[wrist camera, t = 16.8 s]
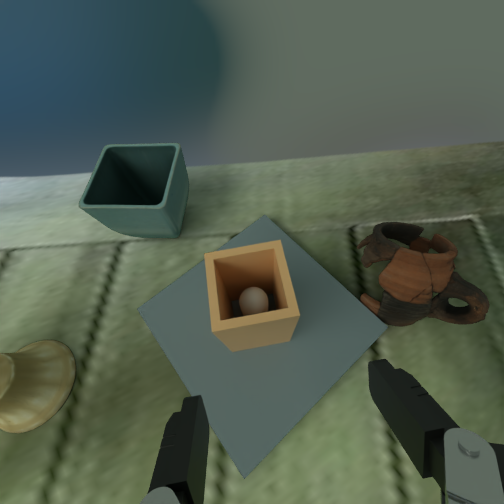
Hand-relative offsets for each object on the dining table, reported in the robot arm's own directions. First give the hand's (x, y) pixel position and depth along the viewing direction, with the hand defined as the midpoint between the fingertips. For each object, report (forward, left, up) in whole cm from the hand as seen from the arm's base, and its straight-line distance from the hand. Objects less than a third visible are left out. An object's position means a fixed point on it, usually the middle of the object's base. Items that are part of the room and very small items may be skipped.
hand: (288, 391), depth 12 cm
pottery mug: (+17, -1, -14) cm, 22 cm away
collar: (+3, +6, -12) cm, 14 cm away
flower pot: (+2, +24, -14) cm, 28 cm away
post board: (+3, +6, -14) cm, 16 cm away
